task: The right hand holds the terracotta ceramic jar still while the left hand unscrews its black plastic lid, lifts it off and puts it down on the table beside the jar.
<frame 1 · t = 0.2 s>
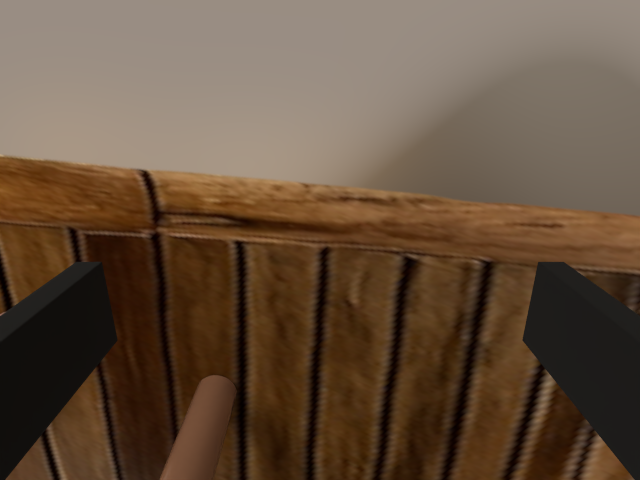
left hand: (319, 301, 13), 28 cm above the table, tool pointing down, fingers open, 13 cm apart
jar: (217, 391, 48), on the table
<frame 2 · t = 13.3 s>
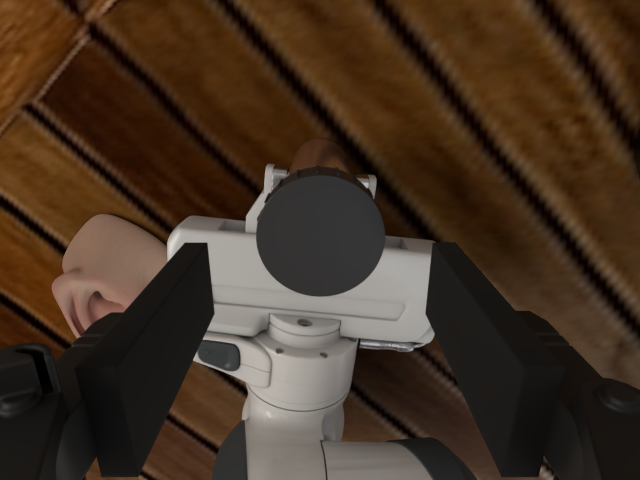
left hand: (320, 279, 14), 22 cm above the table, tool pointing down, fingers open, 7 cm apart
lid: (320, 236, 18), point 17 cm above the table, screwed on, not yet turned
jar: (320, 166, 34), on the table, touching right hand
anatomical model: (127, 285, 38), on the table
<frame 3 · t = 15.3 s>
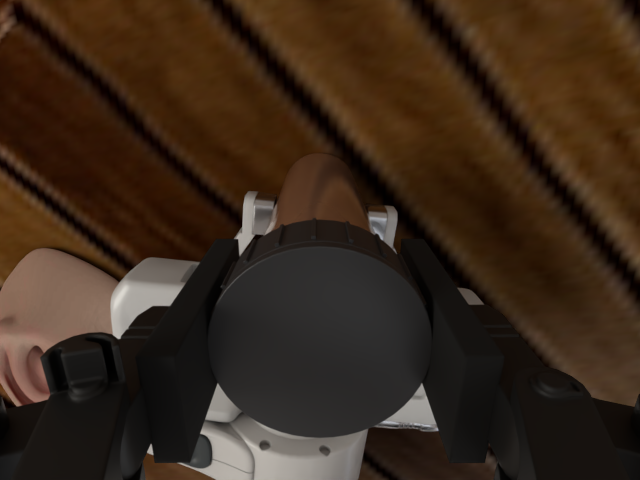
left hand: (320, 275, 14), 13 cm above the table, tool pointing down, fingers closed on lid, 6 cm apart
lid: (319, 343, 10), point 17 cm above the table, screwed on, not yet turned, touching left hand
jar: (319, 188, 27), on the table, touching right hand
anatomical model: (78, 334, 31), on the table
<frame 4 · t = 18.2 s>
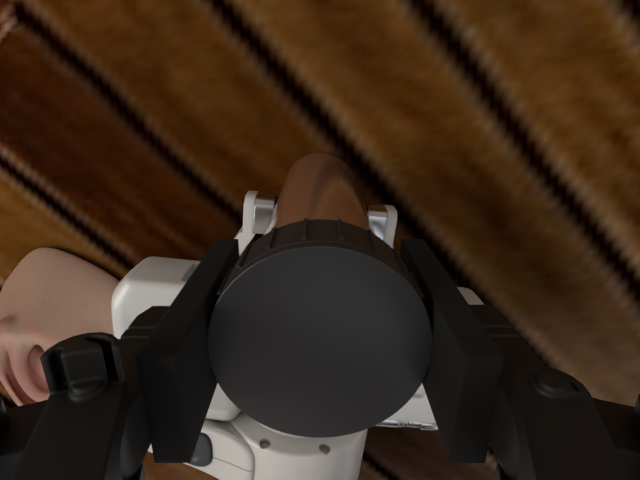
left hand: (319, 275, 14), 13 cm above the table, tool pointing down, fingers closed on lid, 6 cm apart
lid: (319, 343, 10), point 17 cm above the table, turned 77° so far, risen 0.1 cm, still on its thread, touching left hand
jar: (319, 188, 27), on the table, touching right hand
anatomical model: (79, 333, 31), on the table
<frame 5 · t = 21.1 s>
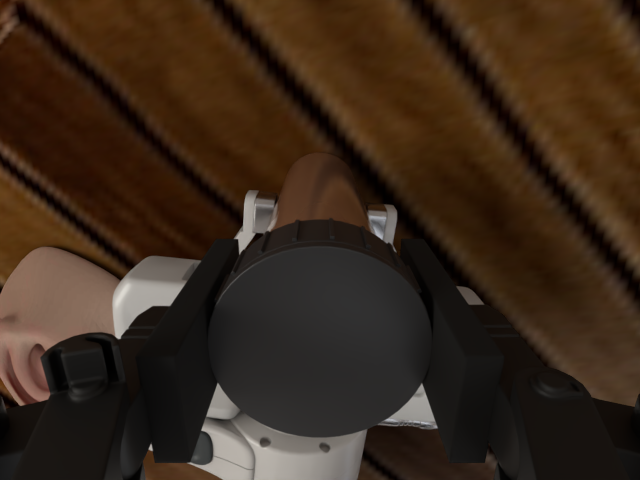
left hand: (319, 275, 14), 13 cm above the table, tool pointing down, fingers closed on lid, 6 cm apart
lid: (320, 343, 10), point 18 cm above the table, turned 153° so far, risen 0.2 cm, still on its thread, touching left hand
jar: (320, 188, 27), on the table, touching right hand
anatomical model: (80, 332, 31), on the table
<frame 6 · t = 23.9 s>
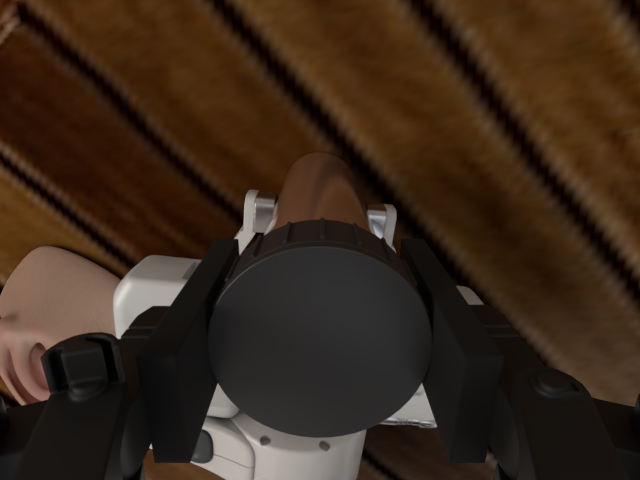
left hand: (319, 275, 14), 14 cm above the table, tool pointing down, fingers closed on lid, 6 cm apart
lid: (319, 343, 10), point 18 cm above the table, turned 230° so far, risen 0.3 cm, still on its thread, touching left hand
jar: (319, 187, 27), on the table, touching right hand
anatomical model: (80, 331, 31), on the table
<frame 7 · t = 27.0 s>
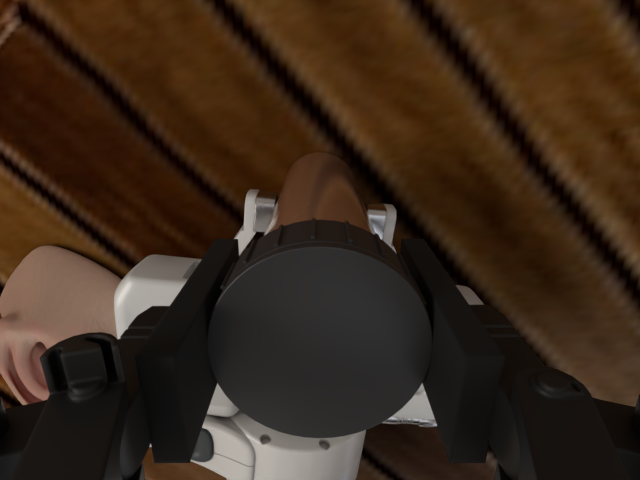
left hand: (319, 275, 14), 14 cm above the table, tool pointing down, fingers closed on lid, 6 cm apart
lid: (319, 343, 10), point 18 cm above the table, turned 306° so far, risen 0.4 cm, still on its thread, touching left hand
jar: (320, 187, 27), on the table, touching right hand
anatomical model: (81, 330, 31), on the table
when the left hand's fingers open (0 cm above the table, at t = 33.5 s): lid drops 2 cm, point 2 cm above the table.
when the right hand's fingers open (6 cm above the table, at t = 34.2 s): jar stays where it is, on the table.
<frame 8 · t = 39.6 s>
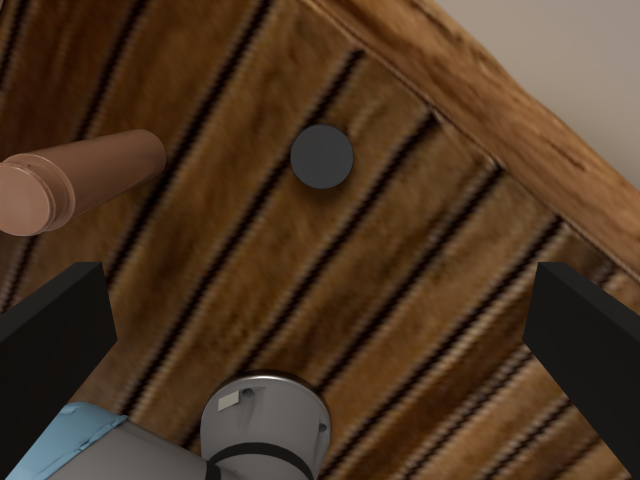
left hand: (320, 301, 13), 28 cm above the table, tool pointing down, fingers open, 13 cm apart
lid: (321, 157, 37), point 2 cm above the table, off its thread
jar: (141, 154, 38), on the table
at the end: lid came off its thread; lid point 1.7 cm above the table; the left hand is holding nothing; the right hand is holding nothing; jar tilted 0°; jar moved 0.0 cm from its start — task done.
